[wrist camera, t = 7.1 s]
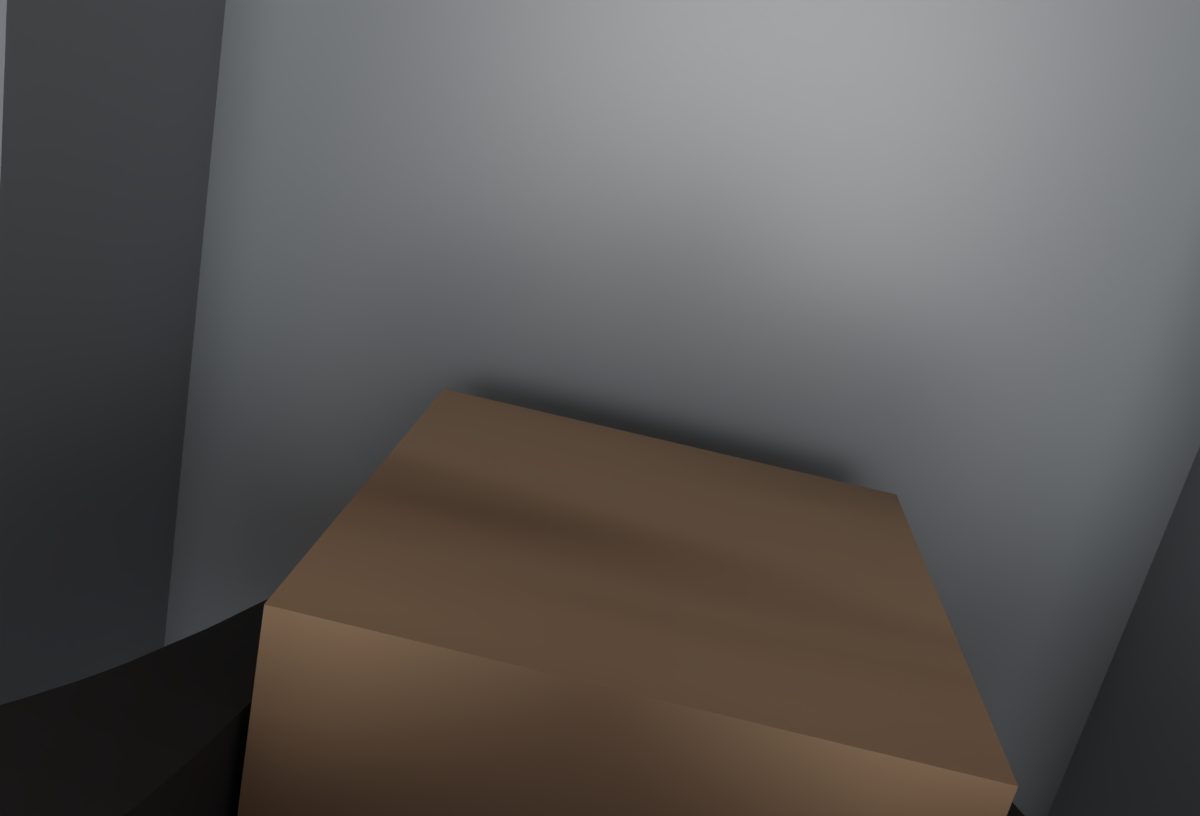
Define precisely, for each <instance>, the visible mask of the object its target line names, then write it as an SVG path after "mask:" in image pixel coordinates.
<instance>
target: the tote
mask: <svg viewBox="0 0 1200 816" xmlns="http://www.w3.org/2000/svg"><path fill="white" fill-rule="evenodd" d="M443 389H447V390H451V391H456V392H460V393H464V394H469V395H473V396H477V397H481V398H486V399H490V400H494V401H498V402H503V403H507V404H511V405H516V406H520V407H524V408H528V409H533V410H537V411H541V412H546V413H550V414H554V415H558V416H563V417H567V418H571V419H575V420H580V421H584V422H588V423H593V424H597V425H601V426H605V427H610V428H614V429H618V430H622V431H627V432H631V433H635V434H640V435H644V436H648V437H652V438H657V439H661V440H665V441H669V442H674V443H678V444H682V445H687V446H691V447H695V448H699V449H704V450H708V451H712V452H717V453H721V454H725V455H729V456H734V457H738V458H742V459H746V460H751V461H755V462H759V463H764V464H768V465H772V466H776V467H781V468H785V469H789V470H793V471H798V472H802V473H806V474H811V475H815V476H819V477H823V478H828V479H832V480H836V481H840V482H845V483H849V484H853V485H858V486H862V487H866V488H870V489H875V490H879V491H883V492H888V493H892V494H896V495H897V497H898V500H899V502H900V505H901V507H902V509H903V512H904V514H905V517H906V519H907V521H908V524H909V526H910V529H911V531H912V533H913V536H914V538H915V541H916V543H917V545H918V548H919V550H920V553H921V555H922V557H923V560H924V562H925V564H926V567H927V569H928V572H929V574H930V576H931V579H932V581H933V584H934V586H935V588H936V591H937V593H938V596H939V598H940V600H941V603H942V605H943V608H944V610H945V612H946V615H947V617H948V619H949V622H950V624H951V627H952V629H953V631H954V634H955V636H956V639H957V641H958V643H959V646H960V648H961V651H962V653H963V655H964V658H965V660H966V663H967V665H968V667H969V670H970V672H971V675H972V677H973V679H974V682H975V684H976V686H977V689H978V691H979V694H980V696H981V698H982V701H983V703H984V706H985V708H986V710H987V713H988V715H989V718H990V720H991V722H992V725H993V727H994V730H995V732H996V734H997V737H998V739H999V741H1000V744H1001V746H1002V749H1003V751H1004V753H1005V756H1006V758H1007V761H1008V763H1009V765H1010V768H1011V770H1012V773H1013V775H1014V777H1015V780H1016V782H1017V785H1018V789H1017V791H1016V794H1015V796H1014V799H1013V801H1012V802H1013V803H1014V805H1015V806H1016V807H1017V808H1018V809H1019V810H1020V811H1021V812H1022V813H1023V814H1024V815H1025V816H1200V0H0V705H2V704H5V703H8V702H12V701H15V700H19V699H22V698H26V697H29V696H32V695H35V694H38V693H41V692H44V691H48V690H51V689H54V688H57V687H60V686H63V685H66V684H70V683H73V682H76V681H79V680H81V679H84V678H87V677H90V676H93V675H95V674H98V673H101V672H104V671H107V670H109V669H112V668H114V667H117V666H120V665H122V664H125V663H127V662H130V661H132V660H134V659H137V658H139V657H141V656H144V655H146V654H148V653H151V652H153V651H156V650H158V649H160V648H163V647H165V646H167V645H170V644H172V643H174V642H177V641H179V640H181V639H184V638H186V637H188V636H191V635H193V634H195V633H198V632H200V631H202V630H205V629H207V628H209V627H211V626H213V625H215V624H217V623H219V622H222V621H224V620H226V619H228V618H230V617H232V616H234V615H236V614H238V613H240V612H242V611H244V610H246V609H248V608H250V607H252V606H254V605H256V604H258V603H260V602H262V601H264V600H266V599H268V598H270V597H271V596H272V594H273V593H274V592H275V591H276V590H277V588H278V587H279V586H280V585H281V584H282V582H283V581H284V580H285V579H286V578H287V576H288V575H289V574H290V573H291V572H292V570H293V569H294V568H295V567H296V566H297V564H298V563H299V562H300V561H301V560H302V558H303V557H304V556H305V555H306V554H307V552H308V551H309V550H310V549H311V548H312V546H313V545H314V544H315V543H316V542H317V540H318V539H319V538H320V537H321V536H322V534H323V533H324V532H325V531H326V530H327V528H328V527H329V526H330V525H331V524H332V522H333V521H334V520H335V519H336V518H337V516H338V515H339V514H340V513H341V512H342V510H343V509H344V508H345V507H346V506H347V504H348V503H349V502H350V501H351V500H352V498H353V497H354V496H355V495H356V494H357V492H358V491H359V490H360V489H361V488H362V486H363V485H364V484H365V483H366V482H367V480H368V479H369V478H370V477H371V476H372V474H373V473H374V472H375V471H376V470H377V468H378V467H379V466H380V465H381V464H382V462H383V461H384V460H385V459H386V458H387V456H388V455H389V454H390V453H391V452H392V450H393V449H394V448H395V447H396V446H397V444H398V443H399V442H400V441H401V440H402V438H403V437H404V436H405V435H406V434H407V432H408V431H409V430H410V429H411V428H412V426H413V425H414V424H415V423H416V422H417V420H418V419H419V418H420V417H421V416H422V414H423V413H424V412H425V411H426V410H427V408H428V407H429V406H430V405H431V404H432V402H433V401H434V400H435V399H436V398H437V396H438V395H439V394H440V393H441V392H442V390H443Z"/></svg>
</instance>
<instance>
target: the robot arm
mask: <svg viewBox="0 0 1200 816" xmlns="http://www.w3.org/2000/svg"><path fill="white" fill-rule="evenodd" d="M268 599H269V598H268ZM268 599H266V600H264V601H262V602H260V603H258V604H256V605H254V606H252V607H250V608H248V609H246V610H244V611H242V612H240V613H238V614H236V615H234V616H232V617H230V618H228V619H226V620H224V621H222V622H219V623H217V624H215V625H213V626H211V627H209V628H207V629H205V630H202V631H200V632H198V633H195V634H193V635H191V636H188V637H186V638H184V639H181V640H179V641H177V642H174V643H172V644H170V645H167V646H165V647H163V648H160V649H158V650H156V651H153V652H151V653H148V654H146V655H144V656H141V657H139V658H137V659H134V660H132V661H130V662H127V663H125V664H122V665H120V666H117V667H114V668H112V669H109V670H107V671H104V672H101V673H98V674H95V675H93V676H90V677H87V678H84V679H81V680H79V681H76V682H73V683H70V684H66V685H63V686H60V687H57V688H54V689H51V690H48V691H44V692H41V693H38V694H35V695H32V696H29V697H26V698H22V699H19V700H15V701H12V702H8V703H5V704H2V705H0V816H237V814H238V806H239V798H240V790H241V783H242V775H243V767H244V759H245V751H246V743H247V735H248V727H249V720H250V712H251V704H252V696H253V688H254V680H255V672H256V664H257V657H258V649H259V641H260V633H261V625H262V617H263V609H264V604H265V603H266V602H267V600H268ZM1007 816H1025V815H1024V814H1023V813H1022V812H1021V811H1020V810H1019V809H1018V808H1017V807H1016V806H1015V805H1014V803H1013V802H1012V804H1011V806H1010V809H1009V811H1008V814H1007Z"/></svg>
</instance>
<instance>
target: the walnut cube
mask: <svg viewBox="0 0 1200 816" xmlns="http://www.w3.org/2000/svg"><path fill="white" fill-rule="evenodd" d="M1017 789H1018V785H1017V782H1016V780H1015V777H1014V775H1013V773H1012V770H1011V768H1010V765H1009V763H1008V761H1007V758H1006V756H1005V753H1004V751H1003V749H1002V746H1001V744H1000V741H999V739H998V737H997V734H996V732H995V730H994V727H993V725H992V722H991V720H990V718H989V715H988V713H987V710H986V708H985V706H984V703H983V701H982V698H981V696H980V694H979V691H978V689H977V686H976V684H975V682H974V679H973V677H972V675H971V672H970V670H969V667H968V665H967V663H966V660H965V658H964V655H963V653H962V651H961V648H960V646H959V643H958V641H957V639H956V636H955V634H954V631H953V629H952V627H951V624H950V622H949V619H948V617H947V615H946V612H945V610H944V608H943V605H942V603H941V600H940V598H939V596H938V593H937V591H936V588H935V586H934V584H933V581H932V579H931V576H930V574H929V572H928V569H927V567H926V564H925V562H924V560H923V557H922V555H921V553H920V550H919V548H918V545H917V543H916V541H915V538H914V536H913V533H912V531H911V529H910V526H909V524H908V521H907V519H906V517H905V514H904V512H903V509H902V507H901V505H900V502H899V500H898V497H897V495H896V494H892V493H888V492H883V491H879V490H875V489H870V488H866V487H862V486H858V485H853V484H849V483H845V482H840V481H836V480H832V479H828V478H823V477H819V476H815V475H811V474H806V473H802V472H798V471H793V470H789V469H785V468H781V467H776V466H772V465H768V464H764V463H759V462H755V461H751V460H746V459H742V458H738V457H734V456H729V455H725V454H721V453H717V452H712V451H708V450H704V449H699V448H695V447H691V446H687V445H682V444H678V443H674V442H669V441H665V440H661V439H657V438H652V437H648V436H644V435H640V434H635V433H631V432H627V431H622V430H618V429H614V428H610V427H605V426H601V425H597V424H593V423H588V422H584V421H580V420H575V419H571V418H567V417H563V416H558V415H554V414H550V413H546V412H541V411H537V410H533V409H528V408H524V407H520V406H516V405H511V404H507V403H503V402H498V401H494V400H490V399H486V398H481V397H477V396H473V395H469V394H464V393H460V392H456V391H451V390H447V389H443V390H442V392H441V393H440V394H439V395H438V396H437V398H436V399H435V400H434V401H433V402H432V404H431V405H430V406H429V407H428V408H427V410H426V411H425V412H424V413H423V414H422V416H421V417H420V418H419V419H418V420H417V422H416V423H415V424H414V425H413V426H412V428H411V429H410V430H409V431H408V432H407V434H406V435H405V436H404V437H403V438H402V440H401V441H400V442H399V443H398V444H397V446H396V447H395V448H394V449H393V450H392V452H391V453H390V454H389V455H388V456H387V458H386V459H385V460H384V461H383V462H382V464H381V465H380V466H379V467H378V468H377V470H376V471H375V472H374V473H373V474H372V476H371V477H370V478H369V479H368V480H367V482H366V483H365V484H364V485H363V486H362V488H361V489H360V490H359V491H358V492H357V494H356V495H355V496H354V497H353V498H352V500H351V501H350V502H349V503H348V504H347V506H346V507H345V508H344V509H343V510H342V512H341V513H340V514H339V515H338V516H337V518H336V519H335V520H334V521H333V522H332V524H331V525H330V526H329V527H328V528H327V530H326V531H325V532H324V533H323V534H322V536H321V537H320V538H319V539H318V540H317V542H316V543H315V544H314V545H313V546H312V548H311V549H310V550H309V551H308V552H307V554H306V555H305V556H304V557H303V558H302V560H301V561H300V562H299V563H298V564H297V566H296V567H295V568H294V569H293V570H292V572H291V573H290V574H289V575H288V576H287V578H286V579H285V580H284V581H283V582H282V584H281V585H280V586H279V587H278V588H277V590H276V591H275V592H274V593H273V594H272V596H271V597H270V598H269V599H268V600H267V602H266V603H265V604H264V609H263V617H262V625H261V633H260V641H259V649H258V657H257V664H256V672H255V680H254V688H253V696H252V704H251V712H250V720H249V727H248V735H247V743H246V751H245V759H244V767H243V775H242V783H241V790H240V798H239V806H238V814H237V816H1007V814H1008V811H1009V809H1010V806H1011V804H1012V801H1013V799H1014V796H1015V794H1016V791H1017Z"/></svg>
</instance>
